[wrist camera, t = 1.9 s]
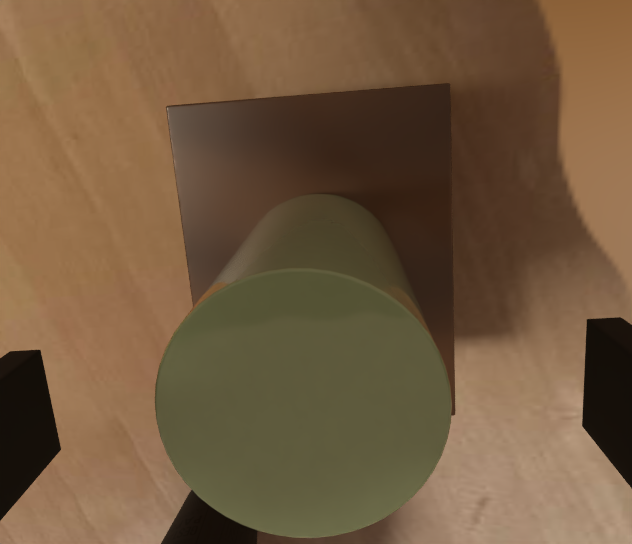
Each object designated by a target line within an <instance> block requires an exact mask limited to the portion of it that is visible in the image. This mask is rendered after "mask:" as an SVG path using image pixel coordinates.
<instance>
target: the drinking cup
mask: <svg viewBox="0 0 632 544" xmlns="http://www.w3.org/2000/svg"><path fill="white" fill-rule="evenodd" d="M257 532H258V530H255V529H252V528H249V527H247V526H244V525H242V524H240V523H238V522H236V521H234V520H232V519H230V518H228V517H226V516H224V515H223V514H221V513H220V512H218V511H217V510H215V509H214V508H212V507H211V506H209V505H208V504H207V503H206V502H205V501H203V500H202V499H201V498H200V497H199V496H198V495H197V494H196V493H195V492H194V491H193V490H191V492H190V493H189V495H188V497H187V498H186V500H185V502H184V504H183V506H182V507H181V509H180V511H179V513H178V514H177V516H176V518H175V520H174V522H173V523H172V525H171V527H170V529H169V530H168V532H167V534H166V536H165V538H164V539H163V541H162V543H161V544H257Z"/></svg>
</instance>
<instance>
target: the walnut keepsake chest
mask: <svg viewBox="0 0 632 544" xmlns="http://www.w3.org/2000/svg"><path fill="white" fill-rule="evenodd" d="M166 110H167V118H168V125H169V132H170V140H171V147H172V154H173V162H174V169H175V176H176V184H177V191H178V199H179V206H180V213H181V221H182V228H183V235H184V243H185V250H186V257H187V265H188V272H189V280H190V287H191V294H192V302H193V307H194V306H195V304H196V303H197V302H198V300H199V299H200V298H201V297H202V295H203V294H204V293H205V291H206V290H207V289H208V287H209V286H210V285H211V284H212V282H213V281H214V280H215V278H216V277H217V276H218V274H219V273H220V272H221V270H222V269H223V268H224V267H225V265H226V264H227V263H228V261H229V260H230V259H231V257H232V256H233V255H234V254H235V252H236V251H237V250H238V248H239V247H240V246H241V244H242V243H243V242H244V240H245V239H246V238H247V237H248V235H249V234H250V233H251V231H252V230H253V229H254V227H255V226H256V225H257V223H258V222H259V221H260V220H261V219H262V218H263V217H264V216H265V215H266V214H267V213H268V212H269V211H270V210H272V209H273V208H274V207H276V206H277V205H279V204H281V203H282V202H284V201H287V200H289V199H292V198H294V197H298V196H302V195H307V194H331V195H336V196H340V197H344V198H347V199H349V200H352V201H354V202H356V203H358V204H359V205H361V206H363V207H364V208H365V209H367V210H368V211H369V212H371V213H372V214H373V215H374V216H375V217H376V218H377V219H378V220H379V221H380V223H381V224H382V225H383V227H384V228H385V230H386V231H387V233H388V235H389V237H390V239H391V241H392V243H393V246H394V248H395V250H396V253H397V255H398V257H399V260H400V262H401V264H402V266H403V269H404V271H405V273H406V276H407V278H408V280H409V283H410V285H411V287H412V289H413V292H414V294H415V296H416V299H417V301H418V303H419V306H420V308H421V310H422V312H423V315H424V317H425V319H426V322H427V324H428V326H429V329H430V331H431V333H432V336H433V338H434V340H435V342H436V345H437V347H438V349H439V352H440V354H441V357H442V359H443V362H444V364H445V367H446V370H447V374H448V378H449V382H450V388H451V399H452V412H451V415H455V368H454V302H453V236H452V170H451V104H450V84H449V83H446V84H433V85H421V86H408V87H396V88H383V89H371V90H358V91H346V92H333V93H321V94H308V95H296V96H284V97H271V98H259V99H246V100H234V101H221V102H209V103H196V104H184V105H171V106H167V107H166Z"/></svg>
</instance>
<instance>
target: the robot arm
mask: <svg viewBox="0 0 632 544" xmlns="http://www.w3.org/2000/svg"><path fill="white" fill-rule="evenodd" d="M582 426H583V428H584V429H585V430H586V431H587V433H588V434H589V435H590V436H591V438H592V439H593V440H594V441H595V443H596V444H597V445H598V446H599V448H600V449H601V450H602V451H603V453H604V454H605V455H606V457H607V458H608V459H609V460H610V462H611V463H612V464H613V465H614V467H615V468H616V469H617V470H618V472H619V473H620V474H621V475H622V477H623V478H624V479H625V480H626V482H627V483H628V484H629V485H630V487H631V488H632V325H631V324H630V323H628V322H627V321H625V320H624V319H622V318H621V317H619V318H602V319H587V331H586V353H585V376H584V399H583V421H582ZM60 450H61V447H60V442H59V438H58V433H57V428H56V423H55V418H54V413H53V409H52V404H51V399H50V394H49V389H48V385H47V380H46V375H45V370H44V365H43V360H42V356H41V351H40V350H28V351H10V352H9V353H7V354H6V355H4V356H3V357H2V358H0V520H1V519H2V518H3V517H4V516H5V515H6V513H7V512H8V511H9V510H10V509H11V507H12V506H13V505H14V504H15V503H16V502H17V500H18V499H19V498H20V497H21V496H22V495H23V493H24V492H25V491H26V490H27V489H28V488H29V486H30V485H31V484H32V483H33V482H34V481H35V479H36V478H37V477H38V476H39V475H40V474H41V472H42V471H43V470H44V469H45V468H46V467H47V465H48V464H49V463H50V462H51V461H52V459H53V458H54V457H55V456H56V455H57V454H58V452H59V451H60Z"/></svg>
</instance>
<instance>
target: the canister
mask: <svg viewBox="0 0 632 544" xmlns="http://www.w3.org/2000/svg"><path fill="white" fill-rule="evenodd" d="M155 410H156V420H157V424H158V428H159V432H160V437H161V439H162V442H163V445H164V447H165V450H166V452H167V454H168V456H169V458H170V460H171V462H172V464H173V465H174V467H175V469H176V470H177V472H178V473H179V474H180V476H181V477H182V479H183V480H184V481H185V483H186V484H187V485H188V486H189V487H190V488H191V489H192V490H193V491H194V492H195V493H196V494H197V495H198V496H199V497H200V498H201V499H202V500H203V501H205V502H206V503H207V504H208V505H209V506H211V507H212V508H214V509H215V510H217V511H218V512H220V513H221V514H223V515H224V516H226V517H228V518H230V519H232V520H234V521H236V522H238V523H240V524H242V525H244V526H247V527H249V528H252V529H255V530H258V531H261V532H265V533H269V534H273V535H278V536H285V537H293V538H319V537H330V536H335V535H340V534H345V533H349V532H352V531H355V530H358V529H361V528H364V527H367V526H369V525H371V524H373V523H375V522H378V521H380V520H382V519H383V518H385V517H387V516H388V515H390V514H391V513H393V512H395V511H396V510H398V509H399V508H400V507H401V506H403V505H404V504H405V503H406V502H407V501H409V500H410V499H411V498H412V497H413V496H414V495H415V494H416V493H417V492H418V491H419V489H420V488H421V487H422V486H423V485H424V484H425V482H426V481H427V479H428V478H429V477H430V475H431V474H432V472H433V471H434V469H435V467H436V465H437V463H438V461H439V459H440V457H441V455H442V453H443V450H444V447H445V444H446V442H447V439H448V434H449V429H450V424H451V412H452V399H451V388H450V382H449V378H448V374H447V370H446V367H445V364H444V362H443V359H442V357H441V354H440V352H439V349H438V347H437V345H436V342H435V340H434V338H433V336H432V333H431V331H430V329H429V326H428V324H427V322H426V319H425V317H424V315H423V312H422V310H421V308H420V306H419V303H418V301H417V299H416V296H415V294H414V292H413V289H412V287H411V285H410V283H409V280H408V278H407V276H406V273H405V271H404V269H403V266H402V264H401V262H400V260H399V257H398V255H397V253H396V250H395V248H394V246H393V243H392V241H391V239H390V237H389V235H388V233H387V231H386V230H385V228H384V227H383V225H382V224H381V223H380V221H379V220H378V219H377V218H376V217H375V216H374V215H373V214H372V213H371V212H369V211H368V210H367V209H365V208H364V207H363V206H361V205H359V204H358V203H356V202H354V201H352V200H349V199H347V198H344V197H340V196H336V195H331V194H307V195H302V196H298V197H294V198H292V199H289V200H287V201H284V202H282V203H281V204H279V205H277V206H276V207H274V208H273V209H272V210H270V211H269V212H268V213H267V214H266V215H265V216H264V217H263V218H262V219H261V220H260V221H259V222H258V223H257V225H256V226H255V227H254V229H253V230H252V231H251V233H250V234H249V235H248V237H247V238H246V239H245V240H244V242H243V243H242V244H241V246H240V247H239V248H238V250H237V251H236V252H235V254H234V255H233V256H232V257H231V259H230V260H229V261H228V263H227V264H226V265H225V267H224V268H223V269H222V270H221V272H220V273H219V274H218V276H217V277H216V278H215V280H214V281H213V282H212V284H211V285H210V286H209V287H208V289H207V290H206V291H205V293H204V294H203V295H202V297H201V298H200V299H199V300H198V302H197V303H196V304H195V306H194V307H193V308H192V310H191V311H190V312H189V314H188V315H187V316H186V317H185V319H184V320H183V322H182V323H181V324H180V326H179V327H178V328H177V330H176V331H175V332H174V334H173V336H172V338H171V340H170V341H169V343H168V345H167V347H166V349H165V351H164V354H163V357H162V360H161V363H160V365H159V370H158V375H157V380H156V387H155Z"/></svg>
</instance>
